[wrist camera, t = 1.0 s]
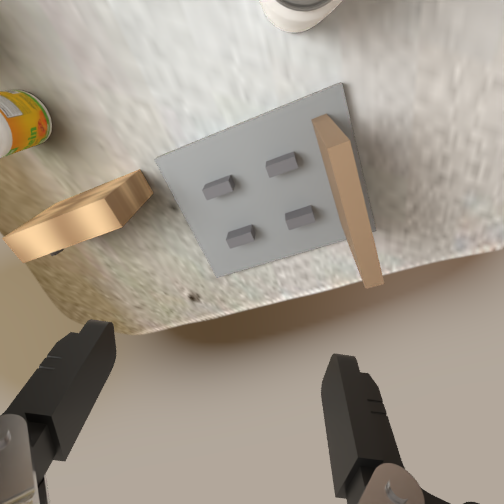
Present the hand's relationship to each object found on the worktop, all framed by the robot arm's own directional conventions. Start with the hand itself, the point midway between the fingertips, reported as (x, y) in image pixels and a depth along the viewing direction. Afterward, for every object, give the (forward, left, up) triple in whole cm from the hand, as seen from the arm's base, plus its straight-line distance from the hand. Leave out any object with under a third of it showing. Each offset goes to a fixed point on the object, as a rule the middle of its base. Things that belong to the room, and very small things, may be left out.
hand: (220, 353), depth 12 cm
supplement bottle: (-22, -10, -27) cm, 37 cm away
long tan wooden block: (-12, -14, -27) cm, 33 cm away
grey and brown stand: (+3, -3, -27) cm, 27 cm away
